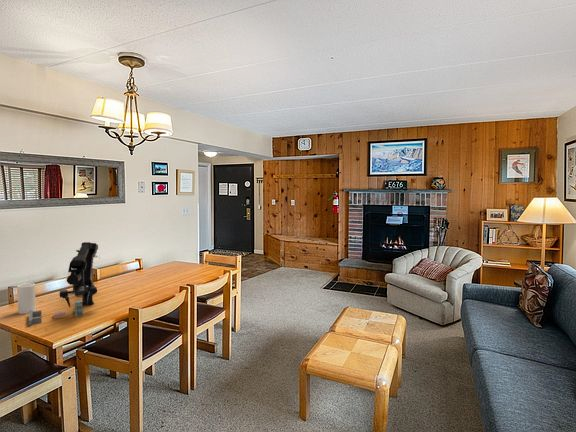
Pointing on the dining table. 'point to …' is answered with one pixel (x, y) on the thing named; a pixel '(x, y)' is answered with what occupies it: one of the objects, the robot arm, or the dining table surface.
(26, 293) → the cup
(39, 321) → the stop bay
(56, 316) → the tile
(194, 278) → the dining table surface
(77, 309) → the scraper
